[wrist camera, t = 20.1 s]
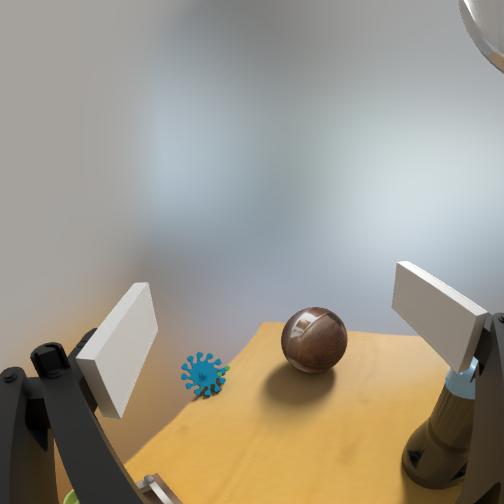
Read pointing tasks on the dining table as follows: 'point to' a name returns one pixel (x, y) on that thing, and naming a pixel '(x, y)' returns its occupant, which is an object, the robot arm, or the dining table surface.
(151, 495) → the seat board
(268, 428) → the dining table surface
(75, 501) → the plant pot
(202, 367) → the blue plastic toy
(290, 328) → the wooden sphere
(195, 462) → the dining table surface
